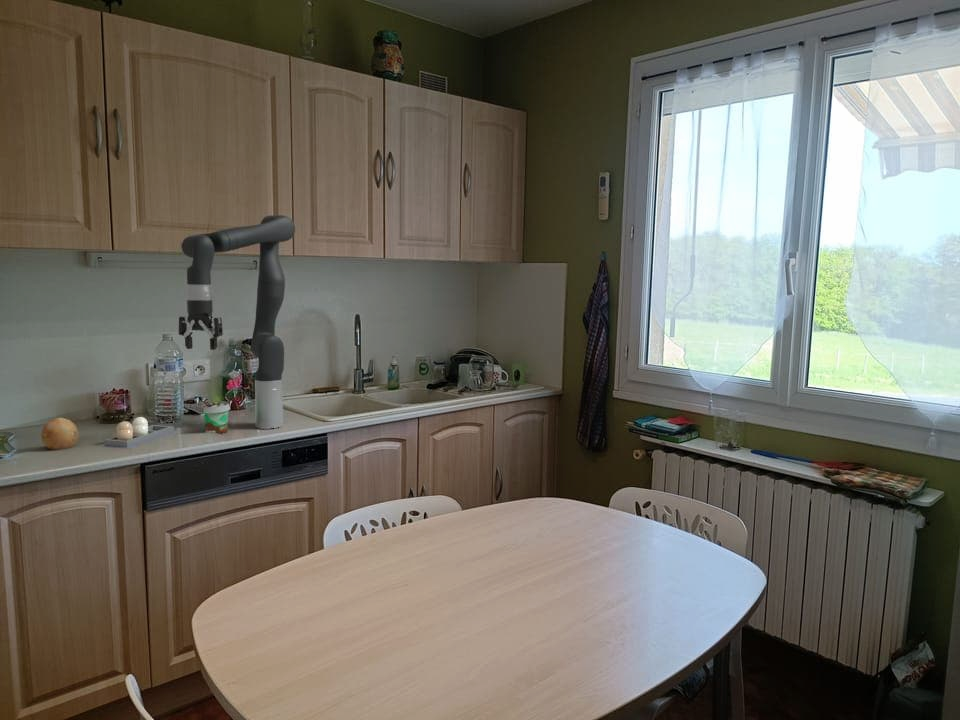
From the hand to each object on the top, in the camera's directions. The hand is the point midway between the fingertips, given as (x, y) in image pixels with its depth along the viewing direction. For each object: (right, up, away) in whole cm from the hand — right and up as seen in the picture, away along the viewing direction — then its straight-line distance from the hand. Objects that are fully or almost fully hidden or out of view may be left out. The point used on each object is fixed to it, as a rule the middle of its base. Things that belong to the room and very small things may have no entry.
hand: (201, 349), depth 215 cm
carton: (-20, -30, 0) cm, 36 cm away
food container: (+1, -29, +15) cm, 32 cm away
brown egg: (-21, -30, -7) cm, 37 cm away
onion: (-38, -31, -12) cm, 50 cm away
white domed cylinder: (-20, -29, 0) cm, 35 cm away
